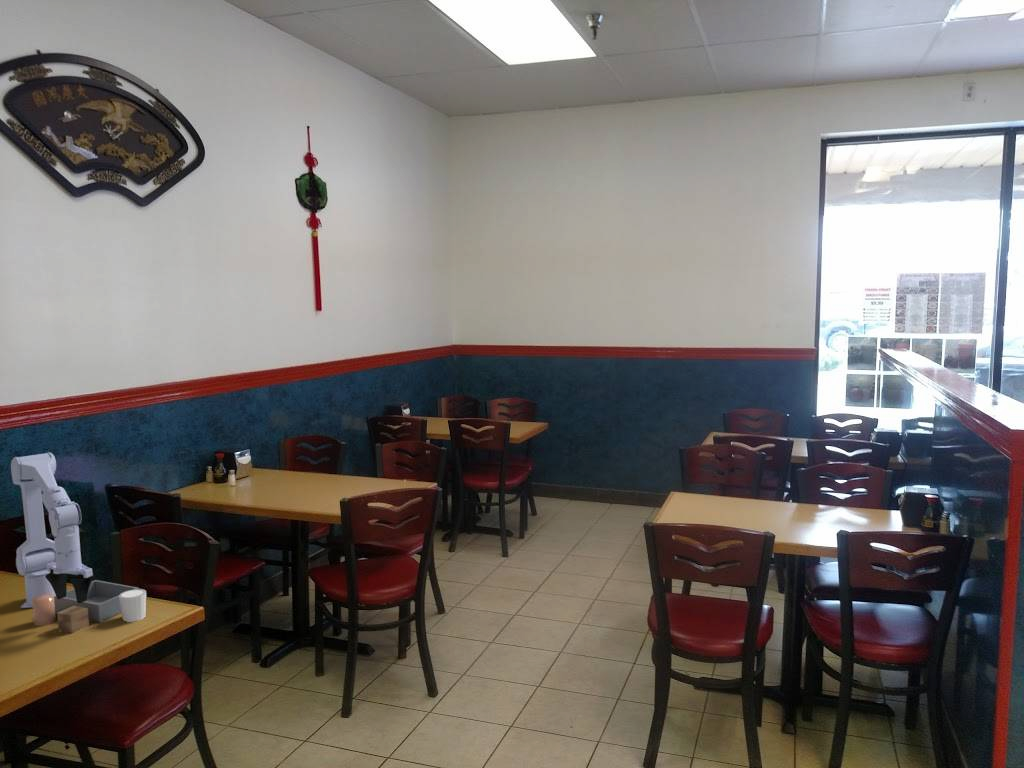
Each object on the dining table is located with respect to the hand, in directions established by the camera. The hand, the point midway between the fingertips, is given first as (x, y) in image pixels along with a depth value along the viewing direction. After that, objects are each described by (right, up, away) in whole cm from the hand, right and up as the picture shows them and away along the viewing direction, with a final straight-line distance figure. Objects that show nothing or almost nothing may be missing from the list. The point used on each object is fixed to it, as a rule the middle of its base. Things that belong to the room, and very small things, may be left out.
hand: (71, 599), depth 203 cm
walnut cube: (0, -8, +1) cm, 8 cm away
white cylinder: (+13, -7, +7) cm, 17 cm away
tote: (0, -6, +13) cm, 15 cm away
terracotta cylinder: (-10, -7, +5) cm, 13 cm away
